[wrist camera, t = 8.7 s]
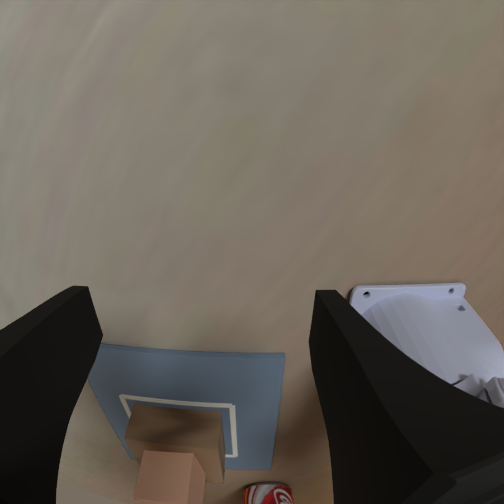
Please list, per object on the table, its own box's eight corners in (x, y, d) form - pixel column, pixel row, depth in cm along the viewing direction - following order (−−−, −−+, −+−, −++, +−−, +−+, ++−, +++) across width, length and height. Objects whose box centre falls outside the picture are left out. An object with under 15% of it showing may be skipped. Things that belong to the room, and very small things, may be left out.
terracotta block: (193, 453, 22) (187, 504, 18) (205, 473, 24) (201, 518, 20) (144, 450, 23) (133, 497, 18) (160, 470, 25) (153, 513, 20)
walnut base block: (221, 411, 25) (217, 449, 22) (225, 451, 29) (223, 483, 25) (134, 403, 25) (123, 438, 22) (152, 444, 29) (146, 474, 25)
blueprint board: (284, 352, 23) (284, 358, 22) (270, 466, 32) (270, 470, 31) (74, 339, 23) (71, 344, 22) (132, 455, 32) (131, 459, 31)
